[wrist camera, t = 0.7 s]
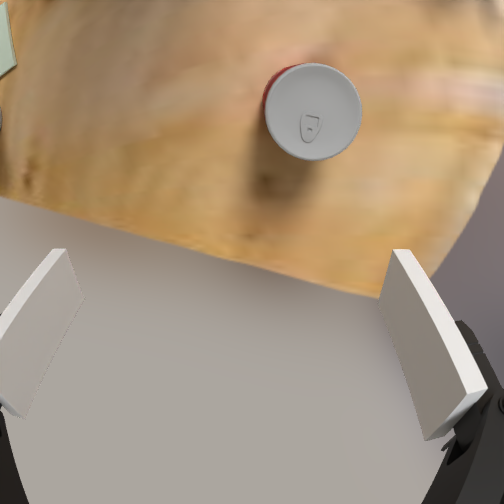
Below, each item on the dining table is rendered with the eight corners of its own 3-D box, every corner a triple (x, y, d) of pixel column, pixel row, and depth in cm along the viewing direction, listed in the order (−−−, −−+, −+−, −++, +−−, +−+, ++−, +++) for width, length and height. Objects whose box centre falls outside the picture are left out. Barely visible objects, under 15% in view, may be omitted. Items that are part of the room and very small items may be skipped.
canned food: (266, 137, 34) (269, 165, 24) (258, 67, 29) (259, 65, 20) (334, 133, 33) (363, 160, 24) (329, 64, 29) (360, 63, 20)
